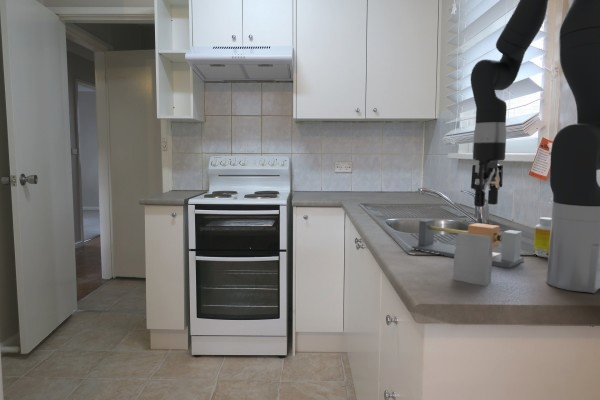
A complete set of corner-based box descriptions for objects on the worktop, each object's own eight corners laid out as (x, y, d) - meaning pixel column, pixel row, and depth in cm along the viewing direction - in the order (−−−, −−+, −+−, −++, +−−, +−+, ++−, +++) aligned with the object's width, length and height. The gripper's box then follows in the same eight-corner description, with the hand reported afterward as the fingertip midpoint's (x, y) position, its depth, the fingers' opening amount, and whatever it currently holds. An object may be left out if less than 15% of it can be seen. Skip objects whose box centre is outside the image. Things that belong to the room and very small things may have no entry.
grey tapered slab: (485, 285, 90) (489, 238, 89) (453, 279, 94) (455, 233, 93) (490, 281, 93) (493, 235, 92) (458, 276, 97) (461, 231, 96)
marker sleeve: (498, 245, 113) (499, 226, 113) (490, 248, 110) (492, 228, 109) (475, 242, 118) (476, 223, 117) (467, 244, 114) (468, 225, 113)
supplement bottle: (549, 259, 114) (553, 220, 113) (529, 254, 119) (531, 217, 118) (560, 256, 117) (564, 219, 116) (539, 252, 122) (542, 216, 121)
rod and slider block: (523, 261, 112) (525, 230, 111) (509, 268, 105) (511, 235, 104) (429, 244, 130) (430, 217, 129) (412, 249, 122) (413, 221, 122)
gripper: (494, 140, 103) (490, 208, 105) (514, 142, 113) (511, 204, 115) (462, 140, 108) (459, 206, 110) (485, 142, 118) (482, 202, 120)
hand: (486, 205), depth 112 cm, fingers open, 8 cm apart
